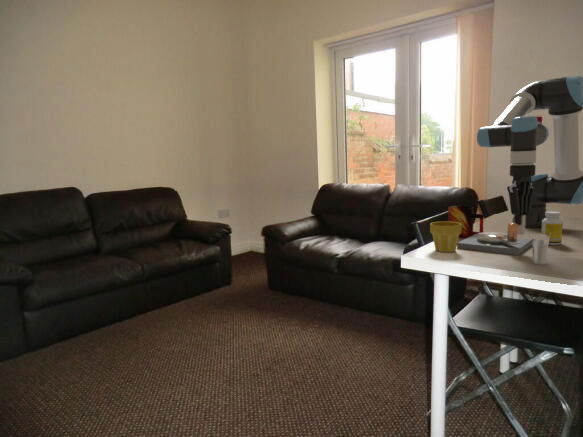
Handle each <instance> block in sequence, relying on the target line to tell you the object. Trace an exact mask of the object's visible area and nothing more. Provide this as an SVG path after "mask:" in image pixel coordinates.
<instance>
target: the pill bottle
mask: <svg viewBox="0 0 583 437" xmlns="http://www.w3.org/2000/svg"><path fill="white" fill-rule="evenodd" d="M545 216H546V218H545V219H543V220H542V227H541V233H540V234H545V235H547V236H549V234H550V233H551V235H550V237H549V238H550V239H549V244H548V246H549V245H552V246H557V245H558V246H559V245H561V244H562V240H563V239H562V238H563V220H562V219H561V218H560V217H561V212H559V211H547V212H545Z"/></svg>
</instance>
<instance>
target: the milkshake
mask: <svg viewBox="0 0 583 437" xmlns="http://www.w3.org/2000/svg"><path fill="white" fill-rule="evenodd" d="M550 235H551V233H550V234H549V236H547V235H545V234H541V233H535V234H533V235H532V236H531V239H532V245H531V246H532V264H534V265H538V266H539V265H540V266H544V265H546V263H547V257H548V256H547V255H548V249H549V239H550V238H549V237H550Z"/></svg>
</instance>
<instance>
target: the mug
mask: <svg viewBox="0 0 583 437" xmlns="http://www.w3.org/2000/svg"><path fill="white" fill-rule="evenodd" d="M447 210H448V213H447V214H448V216H447V218H448V219H447V221H448V222H458V223H461V234H459V238H458V239H466V238H468V237H470V236H472V235H475V234H478V233H483V232H484V219H485V218H484V216H485V215H484V214H483V213H474V212H475V211H474V210H475V209H474V206H469V205H451V206H448V208H447ZM474 219H479V230H478V231H474Z"/></svg>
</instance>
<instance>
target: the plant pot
mask: <svg viewBox="0 0 583 437" xmlns="http://www.w3.org/2000/svg"><path fill="white" fill-rule="evenodd" d="M429 231H430V232H429V233H430V234H431V235H432V239H433V244H434V249H435V251H436V252H439V253H446V254H447V253H455V252H456V250H457V243H458V242H459V239H460V238H459V234H461V223H458V222H448V220H447V221H434V222H430V224H429Z"/></svg>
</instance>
